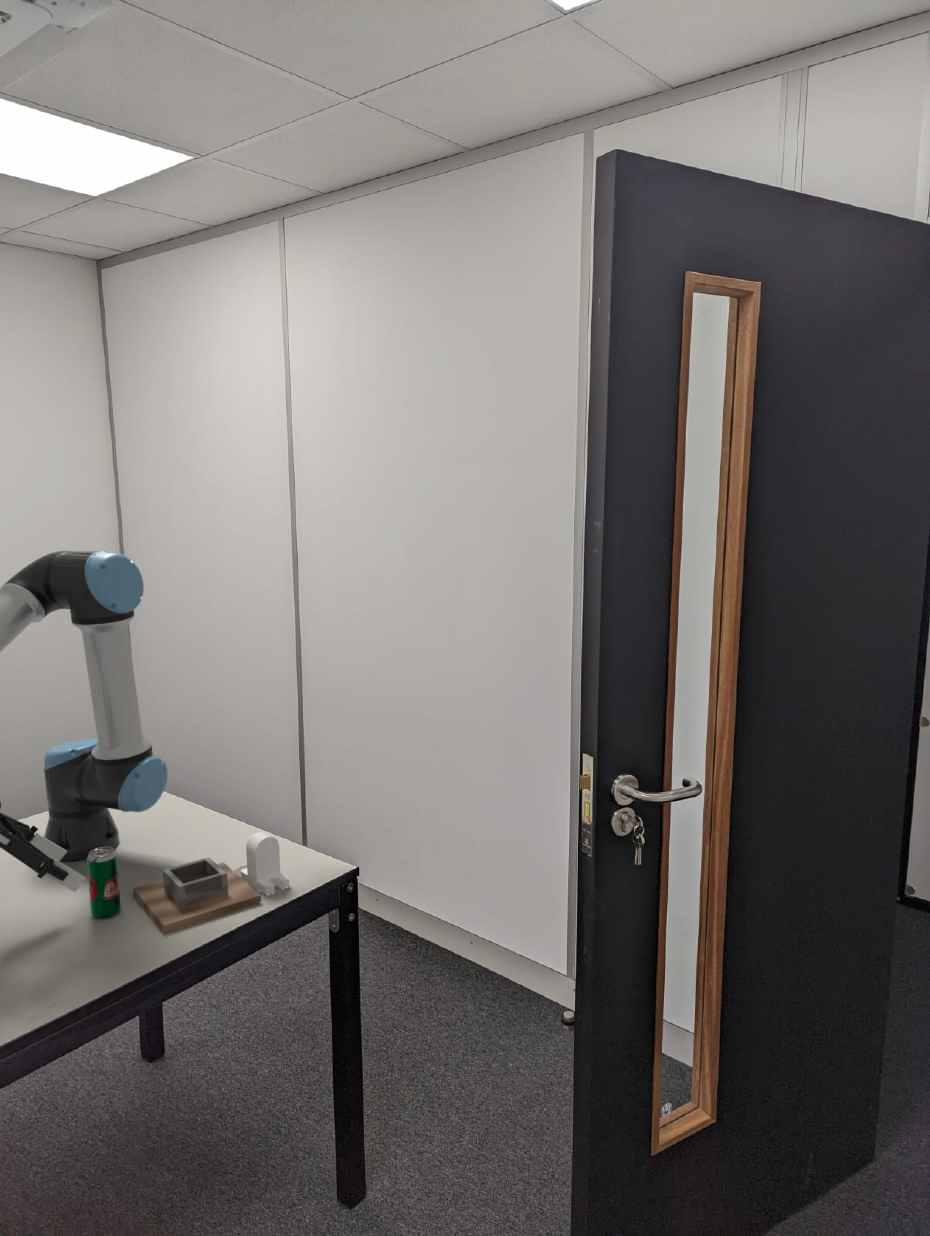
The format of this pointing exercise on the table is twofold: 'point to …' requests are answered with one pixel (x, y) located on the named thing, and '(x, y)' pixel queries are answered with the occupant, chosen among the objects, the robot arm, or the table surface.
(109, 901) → the soda can
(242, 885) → the socket board
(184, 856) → the table surface
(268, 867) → the cable organizer
